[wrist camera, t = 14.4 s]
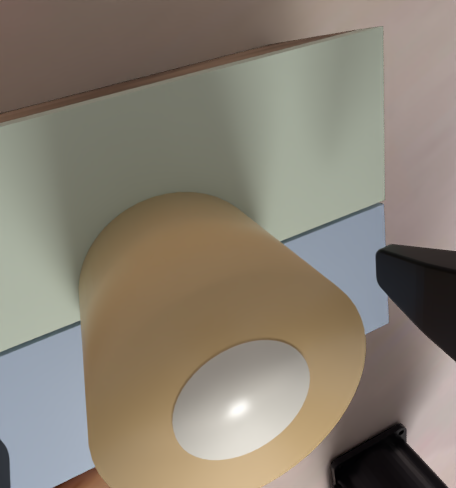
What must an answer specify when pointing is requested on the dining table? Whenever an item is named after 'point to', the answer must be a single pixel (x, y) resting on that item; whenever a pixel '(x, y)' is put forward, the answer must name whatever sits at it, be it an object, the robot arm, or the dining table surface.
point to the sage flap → (188, 162)
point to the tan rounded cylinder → (209, 348)
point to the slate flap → (72, 371)
